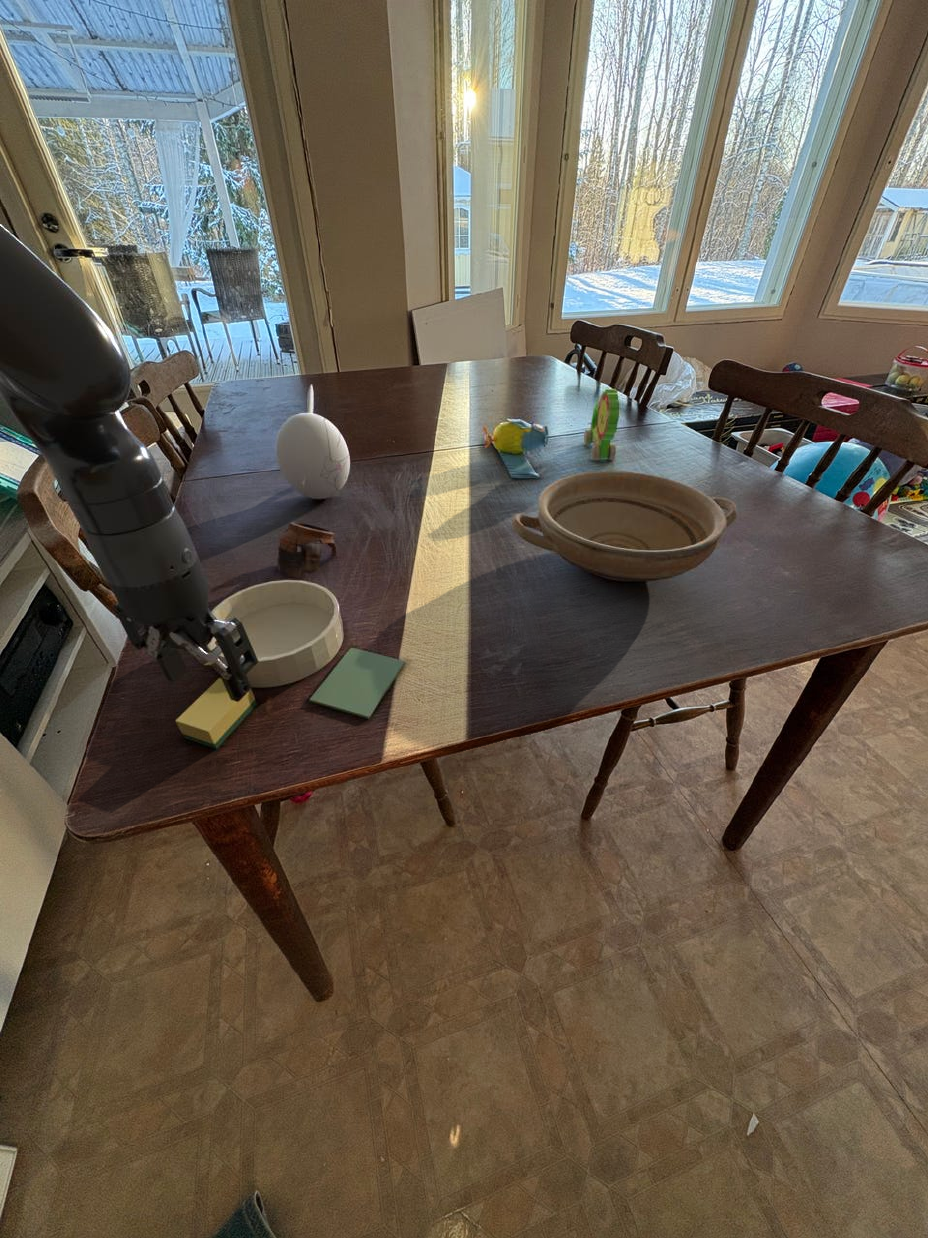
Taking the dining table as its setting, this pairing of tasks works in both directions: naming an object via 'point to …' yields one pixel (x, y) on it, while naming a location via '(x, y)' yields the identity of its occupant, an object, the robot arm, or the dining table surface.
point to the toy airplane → (517, 445)
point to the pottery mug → (302, 548)
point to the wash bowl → (285, 629)
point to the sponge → (214, 715)
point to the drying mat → (358, 682)
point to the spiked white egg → (312, 454)
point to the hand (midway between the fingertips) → (209, 685)
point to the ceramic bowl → (627, 524)
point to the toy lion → (603, 426)
